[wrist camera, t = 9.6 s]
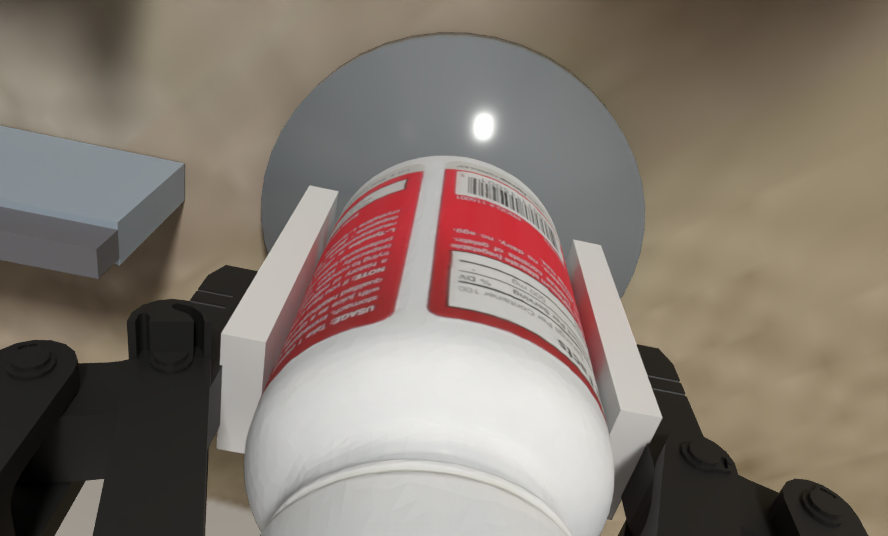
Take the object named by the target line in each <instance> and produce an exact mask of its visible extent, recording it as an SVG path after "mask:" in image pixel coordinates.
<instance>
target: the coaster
mask: <svg viewBox="0 0 888 536" xmlns="http://www.w3.org/2000/svg"><path fill="white" fill-rule="evenodd" d="M428 156H460V157H467V158H472V159H476V160H479V161H483V162H486V163H489V164H491V165H493V166H496V167H498V168H500V169H502V170H504V171H506V172H507V173H509V174H511V175H513V176H514V177H516V178H517V179H518V180H520V181H521V182H522V183H523V184H525V185H526V186H527V187H528V188H529V189H530V190H531V191H532V192H533V193H534V194H535V195H536V196H537V197H538V199H539V200H540V201H541V203H542V204H543V205H544V207H545V208H546V210H547V212H548V214H549V215H550V217H551V219H552V221H553V224H554V226H555V229H556V232H557V234H558V237H559V240H560V244H561V248H562V251H563V255H564V259H565V262H566V259H567V256H568V253H569V250H570V247H571V244H572V241H573V240H578V241H583V242H588V243H593V244H598V245H601V247H602V250H603V252H604V255H605V258H606V261H607V264H608V267H609V269H610V272H611V275H612V278H613V281H614V283H615V286H616V289H617V292H618V295H619V297H620V299H621V297H622V296H623V294H624V292H625V290H626V288H627V286H628V284H629V282H630V280H631V278H632V276H633V274H634V271H635V268H636V265H637V262H638V259H639V256H640V252H641V247H642V241H643V235H644V225H645V203H644V195H643V187H642V181H641V178H640V174H639V170H638V167H637V163H636V160H635V158H634V155H633V153H632V151H631V149H630V146H629V144H628V142H627V140H626V138H625V136H624V134H623V133H622V131H621V129H620V128H619V126H618V125H617V123H616V122H615V120H614V118H613V117H612V115H611V114H610V112H609V111H608V109H607V108H606V106H605V105H604V104H603V103H602V102H601V101H600V99H599V98H598V97H597V96H596V95H595V94H594V92H593V91H592V90H591V89H590V88H589V87H588V86H587V85H586V84H584V83H583V82H582V81H581V80H580V79H579V78H577V77H576V76H575V75H574V74H573V73H572V72H570V71H569V70H568V69H566V68H565V67H563V66H561V65H560V64H558V63H557V62H555V61H554V60H552V59H551V58H549V57H547V56H545V55H543V54H541V53H539V52H537V51H534V50H532V49H530V48H528V47H526V46H523V45H521V44H518V43H514V42H511V41H508V40H504V39H501V38H497V37H493V36H486V35H480V34H473V33H453V32H439V33H431V34H423V35H415V36H410V37H406V38H402V39H399V40H395V41H391V42H388V43H385V44H382V45H380V46H378V47H375V48H373V49H371V50H368V51H366V52H364V53H361V54H360V55H358V56H356V57H355V58H353V59H351V60H350V61H348V62H346V63H345V64H343V65H342V66H340V67H338V68H337V69H336V70H335V71H334V72H332V73H331V74H330V75H329V76H328V77H326V78H325V79H324V80H323V81H321V82H320V83H319V84H318V85H317V86H316V88H315V89H314V90H313V91H312V92H311V93H310V94H309V95H308V96H307V97H306V99H305V100H304V101H303V102H302V103H301V104H300V105H299V106H298V107H297V109H296V110H295V111H294V113H293V114H292V116H291V117H290V119H289V120H288V122H287V123H286V125H285V126H284V128H283V129H282V131H281V133H280V135H279V137H278V139H277V141H276V144H275V146H274V148H273V150H272V152H271V155H270V159H269V162H268V165H267V169H266V172H265V176H264V183H263V190H262V197H261V221H262V227H263V234H264V241H265V245H266V249H267V252H268V254H269V253H270V251H271V249H272V247H273V246H274V244H275V242H276V241H277V239H278V237H279V236H280V234H281V232H282V231H283V229H284V227H285V226H286V224H287V222H288V221H289V219H290V217H291V216H292V214H293V212H294V211H295V209H296V207H297V206H298V204H299V202H300V201H301V199H302V197H303V196H304V194H305V192H306V191H307V189H308V187H309V186H315V187H320V188H325V189H330V190H335V191H339V193H338V201H337V208H336V216H335V224H336V222H337V220H338V218H339V216H340V214H341V212H342V211H343V209H344V207H345V206H346V204H347V203H348V201H349V200H350V199H351V197H352V196H353V195H354V194H355V193H356V192H357V191H358V190H359V189H360V188H361V187H362V186H363V185H364V184H365V183H366V182H367V181H369V180H370V179H371V178H373V177H374V176H376V175H377V174H379V173H381V172H382V171H384V170H386V169H388V168H390V167H392V166H395V165H397V164H400V163H402V162H405V161H408V160H412V159H417V158H421V157H428ZM335 224H334V226H335Z"/></svg>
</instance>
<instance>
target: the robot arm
mask: <svg viewBox="0 0 888 536" xmlns="http://www.w3.org/2000/svg"><path fill="white" fill-rule="evenodd" d="M338 193H339V191H335V190H330V189H325V188H320V187H315V186H309V187H308V189H307V191H306V192H305V194H304V196H303V197H302V199H301V201H300V202H299V204H298V206H297V207H296V209H295V211H294V212H293V214H292V216H291V217H290V219H289V221H288V222H287V224H286V226H285V227H284V229H283V231H282V232H281V234H280V236H279V237H278V239H277V241H276V242H275V244H274V246H273V247H272V249H271V251H270V253H269V254H268V256H267V258H266V259H265V261H264V263H263V264H262V266H261V268H260V269H259V271H254V270H248V269H243V268H238V267H233V266H228V265H225V266H224V267H222V268H220V269H218V270H216V271H215V272H213V273H211V274H209V275H208V276H207V277H206V279H205V280H204V281H203V283H202V284H201V286H200V287H199V288H198V291H196V292H195V294H194V295H193V297H192V298H191V299H190V301H185V300H177V299H168V300H157V301H154V302H151V303H148V304H145V305H142V306H141V307H139V308H138V309H136V310H135V311H133V312H132V314H131V315H130V317H129V319H128V320H127V331H128V351H129V359H128V360H124V361H119V362H109V363H79V364H78V360H77V357H76V354H75V351H74V350H72V349H71V348H70V347H68V346H67V345H66V344H63V343H59V342H55V341H52V340H32V341H26V342H21V343H16V344H13V345H11V346H9V347H6V348H4V349H1V350H0V536H55V534H56V532H57V530H58V529H59V527H60V525H61V523H62V521H63V520H64V517H65V516H66V514H67V512H68V511H69V509H70V507H71V506H72V504H73V502H74V500H75V498H76V497H77V495H78V493H79V492H80V490H81V488H82V486H83V485H84V483H85V481H86V480H96V479H104V484H103V488H102V493H101V498H100V503H99V508H98V513H97V518H96V522H95V527H94V532H93V536H205V523H206V501H207V478H208V451H209V446H210V444H211V442H212V440H213V438H214V436H215V434H216V432H217V449H221V450H226V451H232V452H238V453H243V454H245V446H246V440H247V435H248V431H249V428H250V425H251V422H252V419H253V417H254V414H255V411H256V408H257V406H258V403H259V400H260V398H261V396H262V393H263V391H264V389H265V386H266V384H267V381H268V379H269V376H270V374H271V372H272V370H273V367H274V365H275V363H276V361H277V359H278V356H279V354H280V352H281V349H282V347H283V345H284V342H285V340H286V338H287V335H288V333H289V331H290V328H291V326H292V323H293V321H294V319H295V316H296V314H297V312H298V309H299V307H300V304H301V302H302V300H303V297H304V295H305V293H306V290H307V288H308V286H309V283H310V281H311V279H312V276H313V274H314V272H315V269H316V267H317V265H318V262H319V259H320V257H321V255H322V253H323V251H324V248H325V246H326V244H327V241H328V239H329V237H330V234H331V232H332V230H333V228H334V224H335V216H336V208H337V201H338ZM565 263H566V267H567V270H568V274H569V278H570V282H571V286H572V290H573V294H574V298H575V302H576V306H577V309H578V313H579V317H580V321H581V325H582V329H583V332H584V337H585V341H586V345H587V348H588V353H589V358H590V361H591V365H592V369H593V373H594V377H595V381H596V384H597V388H598V392H599V397H600V401H601V404H602V407H603V411H604V416H605V419H606V424H607V427H608V431H609V436H610V442H611V447H612V451H613V460H614V491H613V498H612V503H611V506H610V511H609V515H608V517H607V519H610V520H612V518H613V516H614V514H615V512H616V510H617V508H618V506H619V504H620V502H621V500H622V502H623V507H624V511H625V515H626V521H625V523H624V525H623V527H622V528H621V530H620V532H619V534H618V536H868V534H867V532H866V530H865V529H864V527H863V525H862V523H861V521H860V519H859V517H858V516H857V515H856V513H855V512H854V511H853V509H852V508H851V507H850V505H849V504H847V503H846V502H845V501H844V500H843V499H842V498H841V497H840V496H838V495H837V494H836V493H834V492H833V491H831V490H829V489H828V488H826V487H824V486H823V485H820V484H818V483H815V482H812V481H809V480H804V479H793V480H790V481H788V482H786V483H785V485H784V486H783V488H782V489H781V491H780V492H779V493H778V492H776V491H773V490H771V489H769V488H766V487H764V486H762V485H759V484H757V483H755V482H752V481H750V480H748V479H746V478H744V477H742V476H740V475H738V473H737V469H736V466H735V463H734V462H733V460H732V459H731V458H730V456H729V455H728V454H727V452H726V451H724V450H723V449H722V448H721V447H720V446H718V445H717V444H716V443H714V442H713V441H711V440H709V439H707V438H705V437H703V434H702V432H701V429H700V427H699V425H698V422H697V420H696V418H695V415H694V413H693V410H692V408H691V406H690V403H689V401H688V399H687V396H685V391H684V389H683V387H682V384H681V383H679V381H680V380H679V377H678V375H677V372H676V370H675V368H674V365H673V364H672V363H671V362H670V360H669V359H668V358H667V357H666V356H665V355H664V354H663V353H662V352H661V351H660V350H659V349H658V348H653V347H648V346H643V345H638V344H636V342H635V339H634V337H633V334H632V331H631V328H630V325H629V323H628V320H627V317H626V314H625V311H624V309H623V306H622V303H621V300H620V297H619V295H618V292H617V289H616V286H615V283H614V281H613V278H612V275H611V272H610V269H609V267H608V264H607V261H606V258H605V255H604V252H603V250H602V247H601V245H598V244H593V243H588V242H583V241H578V240H573V241H572V244H571V247H570V250H569V253H568V256H567V259H566V262H565Z"/></svg>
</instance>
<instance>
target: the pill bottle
mask: <svg viewBox="0 0 888 536" xmlns="http://www.w3.org/2000/svg"><path fill="white" fill-rule="evenodd" d="M244 479H245V488H246V492H247V496H248V500H249V505H250V508H251V511H252V513H253V516H254V518H255V520H256V523H257V525H258V527H259V529H260V531H261V535H260V536H600V534H601V532H602V529H603V527H604V525H605V522H606V520H607V517H608V515H609V511H610V506H611V503H612V498H613V491H614V460H613V451H612V447H611V442H610V436H609V431H608V427H607V424H606V419H605V416H604V411H603V407H602V404H601V401H600V397H599V392H598V388H597V384H596V381H595V377H594V373H593V369H592V365H591V361H590V358H589V353H588V348H587V345H586V341H585V337H584V332H583V329H582V325H581V321H580V317H579V313H578V309H577V306H576V302H575V298H574V294H573V290H572V286H571V282H570V278H569V274H568V270H567V267H566V263H565V259H564V255H563V251H562V248H561V244H560V240H559V237H558V234H557V232H556V229H555V226H554V224H553V221H552V219H551V217H550V215H549V214H548V212H547V210H546V208H545V207H544V205H543V204H542V203H541V201H540V200H539V199H538V197H537V196H536V195H535V194H534V193H533V192H532V191H531V190H530V189H529V188H528V187H527V186H526V185H525V184H523V183H522V182H521V181H520V180H518V179H517V178H516V177H514V176H513V175H511V174H509V173H507V172H506V171H504V170H502V169H500V168H498V167H496V166H493V165H491V164H489V163H486V162H483V161H479V160H476V159H472V158H467V157H460V156H428V157H421V158H417V159H412V160H408V161H405V162H402V163H400V164H397V165H395V166H392V167H390V168H388V169H386V170H384V171H382V172H381V173H379V174H377V175H376V176H374V177H373V178H371V179H370V180H369V181H367V182H366V183H365V184H364V185H363V186H362V187H361V188H360V189H359V190H358V191H357V192H356V193H355V194H354V195H353V196H352V197H351V199H350V200H349V201H348V203H347V204H346V206H345V207H344V209H343V211H342V212H341V214H340V216H339V218H338V220H337V222H336V224H335V226H334V228H333V230H332V232H331V234H330V237H329V239H328V241H327V244H326V246H325V248H324V251H323V253H322V255H321V257H320V259H319V262H318V265H317V267H316V269H315V272H314V274H313V276H312V279H311V281H310V283H309V286H308V288H307V290H306V293H305V295H304V297H303V300H302V302H301V304H300V307H299V309H298V312H297V314H296V316H295V319H294V321H293V323H292V326H291V328H290V331H289V333H288V335H287V338H286V340H285V342H284V345H283V347H282V349H281V352H280V354H279V356H278V359H277V361H276V363H275V365H274V367H273V370H272V372H271V374H270V376H269V379H268V381H267V384H266V386H265V389H264V391H263V393H262V396H261V398H260V400H259V403H258V406H257V408H256V411H255V414H254V417H253V419H252V422H251V425H250V428H249V431H248V435H247V440H246V446H245V456H244Z"/></svg>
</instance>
